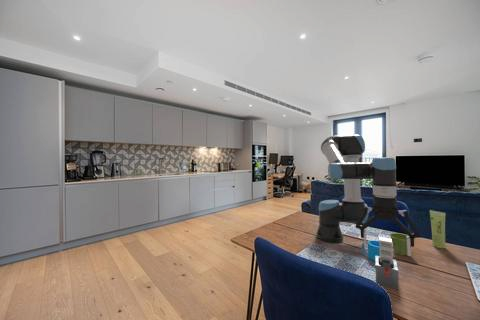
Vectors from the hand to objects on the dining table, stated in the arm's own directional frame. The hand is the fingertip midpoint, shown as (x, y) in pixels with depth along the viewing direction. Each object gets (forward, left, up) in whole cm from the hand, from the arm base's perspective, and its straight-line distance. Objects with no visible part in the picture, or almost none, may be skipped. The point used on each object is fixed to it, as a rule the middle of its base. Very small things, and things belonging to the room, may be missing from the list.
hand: (386, 250), depth 76 cm
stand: (0, 0, -13) cm, 13 cm away
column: (0, 0, -12) cm, 12 cm away
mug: (-4, +20, -13) cm, 25 cm away
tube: (+25, +55, -13) cm, 62 cm away
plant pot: (+8, +35, -13) cm, 38 cm away
